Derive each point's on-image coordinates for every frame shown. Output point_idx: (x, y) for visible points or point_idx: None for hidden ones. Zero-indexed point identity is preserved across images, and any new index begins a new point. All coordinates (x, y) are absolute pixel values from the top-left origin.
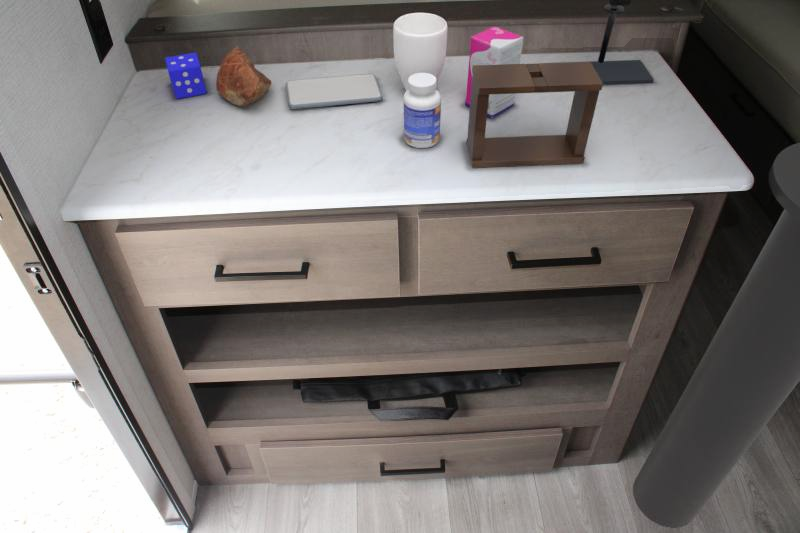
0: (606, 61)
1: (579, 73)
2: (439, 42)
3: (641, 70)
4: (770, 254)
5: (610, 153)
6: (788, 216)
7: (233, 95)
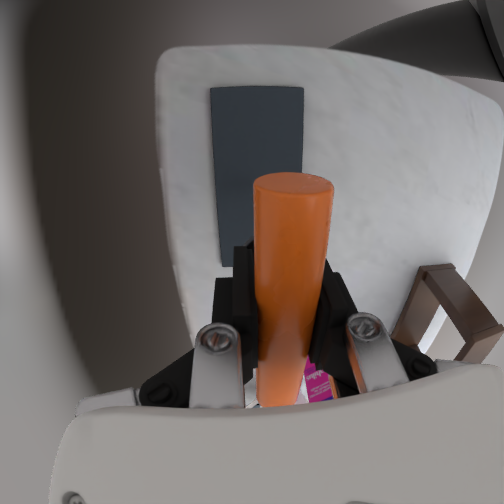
0: (217, 163)
1: (482, 350)
2: None
3: (262, 99)
4: (474, 74)
5: (451, 232)
6: (501, 76)
7: None
